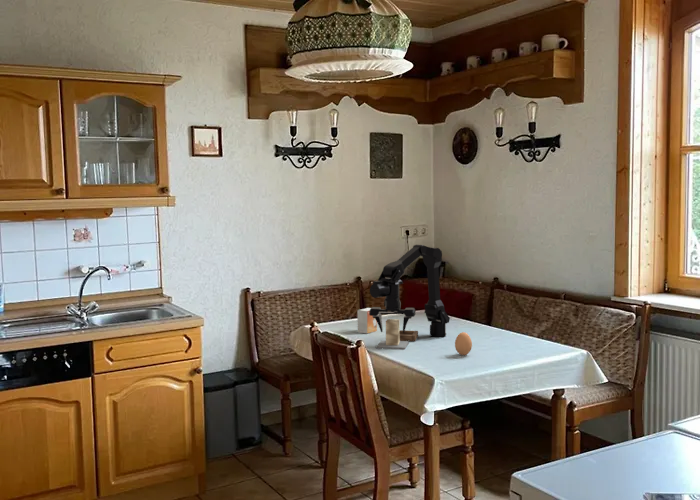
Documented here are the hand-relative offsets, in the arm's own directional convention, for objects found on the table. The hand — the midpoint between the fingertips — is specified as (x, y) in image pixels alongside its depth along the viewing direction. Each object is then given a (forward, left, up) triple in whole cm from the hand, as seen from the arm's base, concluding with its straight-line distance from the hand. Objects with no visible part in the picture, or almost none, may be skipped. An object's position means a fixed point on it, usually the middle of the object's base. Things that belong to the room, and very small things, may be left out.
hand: (392, 332), depth 300 cm
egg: (-30, +12, -6) cm, 33 cm away
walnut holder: (-3, -15, -6) cm, 16 cm away
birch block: (0, 0, -5) cm, 5 cm away
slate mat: (0, 0, -6) cm, 6 cm away
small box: (+16, -27, -6) cm, 32 cm away
